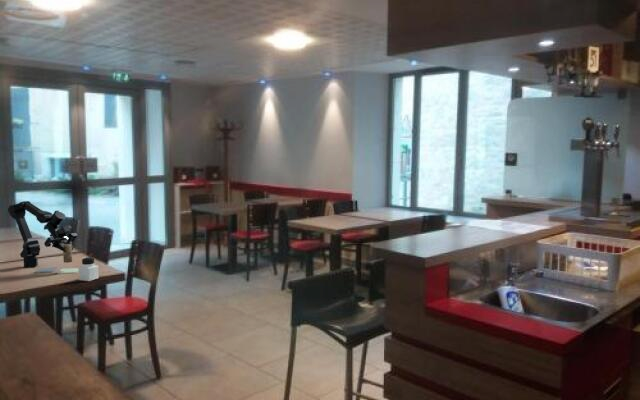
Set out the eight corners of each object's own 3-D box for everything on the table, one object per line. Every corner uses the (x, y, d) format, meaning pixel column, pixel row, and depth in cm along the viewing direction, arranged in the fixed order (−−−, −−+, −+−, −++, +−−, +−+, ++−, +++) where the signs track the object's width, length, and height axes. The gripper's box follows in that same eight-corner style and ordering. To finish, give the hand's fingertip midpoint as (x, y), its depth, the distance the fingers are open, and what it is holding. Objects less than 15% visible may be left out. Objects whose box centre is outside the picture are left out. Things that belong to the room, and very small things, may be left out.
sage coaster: (57, 273, 283) (57, 272, 283) (62, 269, 293) (61, 268, 293) (76, 272, 286) (76, 271, 286) (80, 269, 296) (80, 268, 296)
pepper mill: (64, 263, 285) (63, 245, 284) (62, 261, 289) (62, 244, 288) (72, 262, 288) (72, 244, 287) (71, 260, 291) (70, 243, 290)
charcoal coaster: (33, 273, 285) (33, 272, 284) (38, 269, 294) (38, 268, 294) (52, 272, 287) (52, 271, 287) (57, 268, 297) (57, 267, 297)
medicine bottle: (98, 278, 274) (98, 256, 273) (89, 281, 268) (88, 259, 267) (88, 277, 277) (87, 255, 276) (78, 280, 270) (77, 258, 269)
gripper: (46, 223, 279) (61, 244, 276) (75, 219, 296) (89, 239, 293) (37, 236, 283) (52, 257, 280) (65, 231, 300) (80, 251, 297)
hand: (69, 250), depth 287 cm, fingers closed on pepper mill, 4 cm apart
